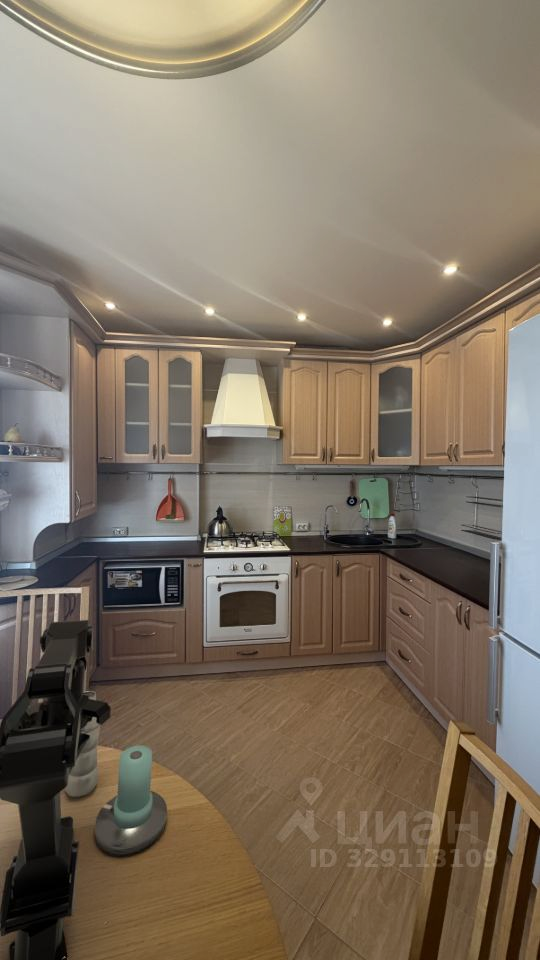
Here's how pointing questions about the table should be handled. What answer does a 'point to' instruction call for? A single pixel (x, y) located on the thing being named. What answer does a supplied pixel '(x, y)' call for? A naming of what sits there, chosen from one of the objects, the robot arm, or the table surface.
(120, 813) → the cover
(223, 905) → the table surface
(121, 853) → the base
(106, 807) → the turntable
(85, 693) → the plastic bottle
